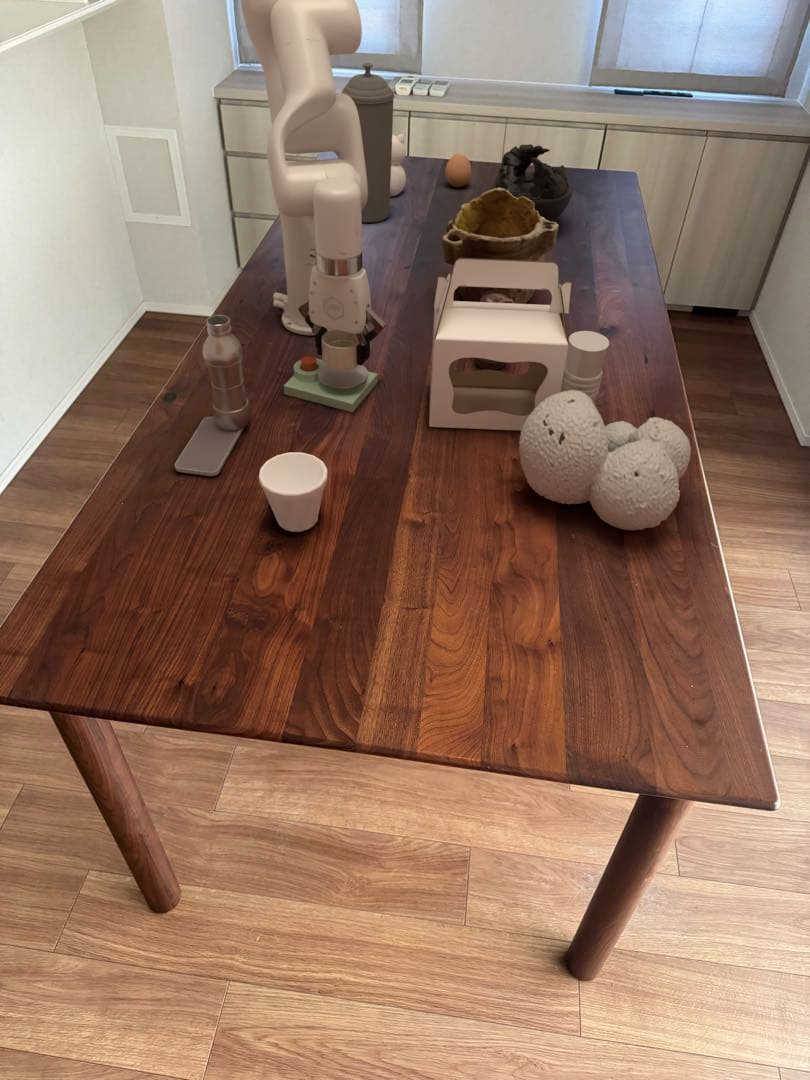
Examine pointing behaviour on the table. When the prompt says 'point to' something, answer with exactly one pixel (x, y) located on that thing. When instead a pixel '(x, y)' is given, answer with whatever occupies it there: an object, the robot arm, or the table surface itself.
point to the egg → (458, 170)
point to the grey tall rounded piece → (226, 375)
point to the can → (493, 298)
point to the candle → (585, 363)
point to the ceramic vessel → (498, 236)
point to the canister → (374, 138)
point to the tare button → (308, 363)
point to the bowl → (339, 350)
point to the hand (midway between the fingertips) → (342, 356)
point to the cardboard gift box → (496, 345)
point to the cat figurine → (397, 165)
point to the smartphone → (207, 449)
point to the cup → (294, 489)
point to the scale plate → (342, 377)
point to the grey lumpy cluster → (603, 461)
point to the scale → (327, 389)
